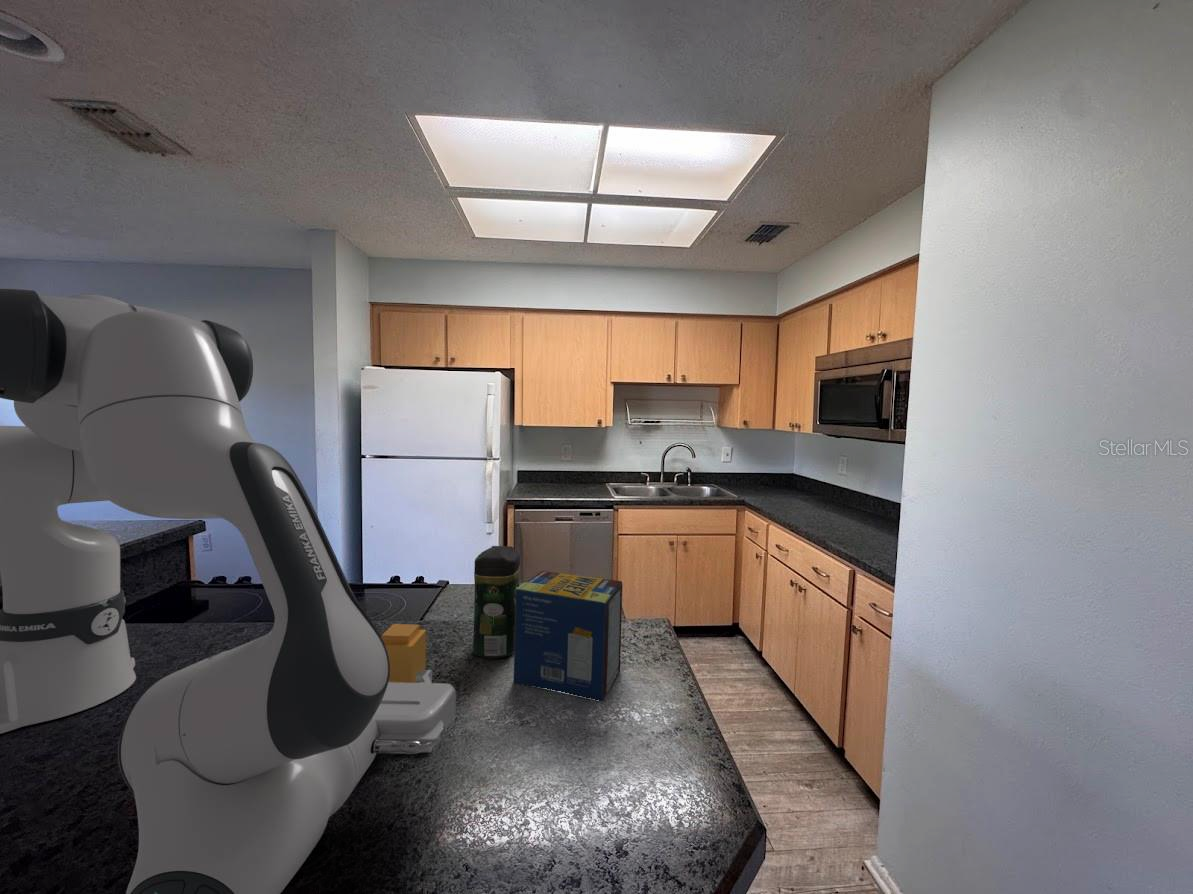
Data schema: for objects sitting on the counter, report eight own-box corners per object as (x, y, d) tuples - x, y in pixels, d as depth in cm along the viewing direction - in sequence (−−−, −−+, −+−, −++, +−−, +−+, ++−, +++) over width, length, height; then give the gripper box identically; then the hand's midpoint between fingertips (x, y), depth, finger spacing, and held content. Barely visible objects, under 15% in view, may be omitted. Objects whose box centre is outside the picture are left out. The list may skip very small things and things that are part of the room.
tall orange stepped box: (372, 728, 60) (373, 637, 60) (389, 705, 65) (390, 621, 65) (410, 729, 60) (412, 638, 60) (424, 706, 65) (426, 622, 65)
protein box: (538, 654, 84) (541, 569, 84) (621, 670, 79) (624, 580, 79) (511, 683, 74) (513, 588, 74) (603, 703, 70) (606, 601, 69)
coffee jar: (481, 635, 91) (483, 541, 90) (521, 637, 91) (524, 543, 90) (466, 660, 81) (469, 555, 80) (511, 662, 81) (514, 556, 80)
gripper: (433, 719, 45) (471, 651, 59) (221, 714, 45) (310, 647, 59) (432, 783, 45) (471, 700, 59) (221, 778, 45) (309, 696, 59)
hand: (389, 674), depth 59 cm, fingers open, 8 cm apart
